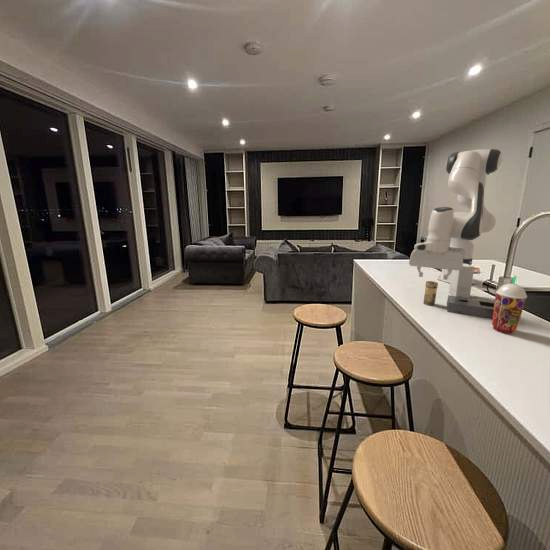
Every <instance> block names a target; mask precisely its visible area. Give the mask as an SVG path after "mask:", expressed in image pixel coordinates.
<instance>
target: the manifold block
mask: <svg viewBox="0 0 550 550" xmlns="http://www.w3.org/2000/svg"><path fill="white" fill-rule="evenodd" d="M494 305H495V300H486V299H479V298H472V297H470V298H465V297H458V296H452V295H451V294H450V295H449V294H448V296H447V301H446V311H447V312H448V313H452V314H453V313H454V314H460V315H465V316H472V317H478V318H484V319H490V320H493V313H494Z"/></svg>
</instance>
